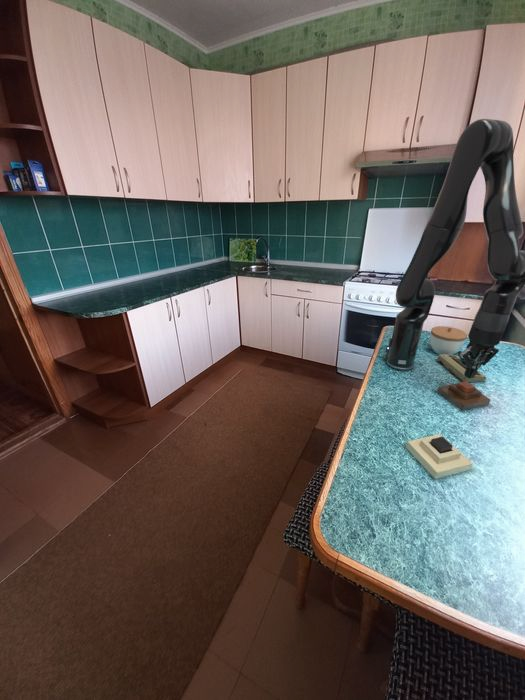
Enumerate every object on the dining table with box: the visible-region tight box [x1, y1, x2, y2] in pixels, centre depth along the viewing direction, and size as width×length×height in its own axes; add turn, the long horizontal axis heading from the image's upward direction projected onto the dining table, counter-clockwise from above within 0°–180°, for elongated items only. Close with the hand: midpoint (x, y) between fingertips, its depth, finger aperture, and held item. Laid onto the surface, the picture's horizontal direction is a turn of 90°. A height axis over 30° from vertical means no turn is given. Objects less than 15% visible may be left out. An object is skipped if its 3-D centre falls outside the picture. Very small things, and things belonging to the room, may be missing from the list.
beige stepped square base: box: [405, 433, 474, 480], centre depth 71 cm, size 10×10×4 cm
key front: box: [430, 436, 454, 454], centre depth 70 cm, size 3×3×2 cm
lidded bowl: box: [429, 325, 468, 356], centre depth 119 cm, size 13×13×11 cm
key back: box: [457, 381, 476, 393], centre depth 91 cm, size 3×3×2 cm
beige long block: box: [436, 354, 487, 383], centre depth 107 cm, size 16×8×3 cm, turn 3°
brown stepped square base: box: [436, 382, 492, 412], centre depth 92 cm, size 10×10×4 cm
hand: (468, 376), depth 90 cm, fingers closed
